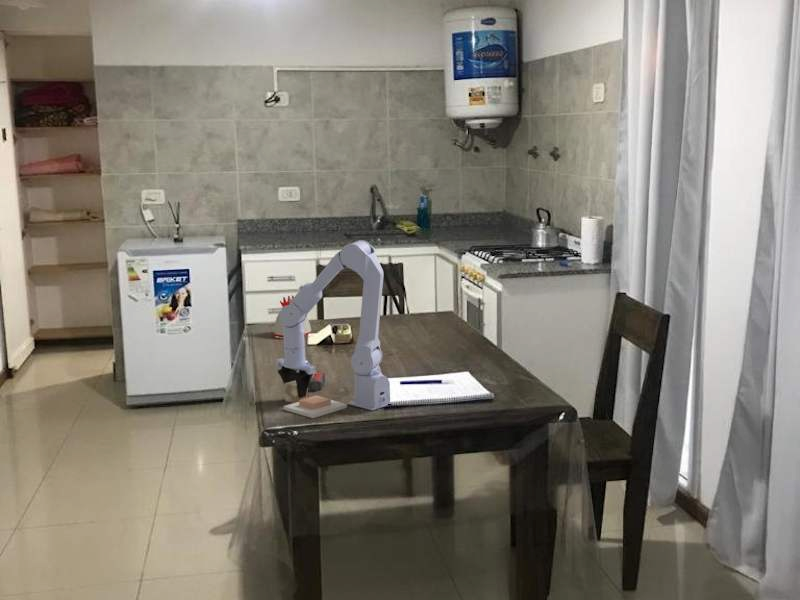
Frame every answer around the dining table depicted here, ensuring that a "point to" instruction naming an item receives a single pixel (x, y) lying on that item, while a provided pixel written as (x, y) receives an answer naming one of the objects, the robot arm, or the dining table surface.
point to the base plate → (315, 412)
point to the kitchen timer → (279, 326)
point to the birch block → (293, 392)
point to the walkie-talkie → (316, 381)
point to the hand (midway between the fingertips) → (296, 395)
